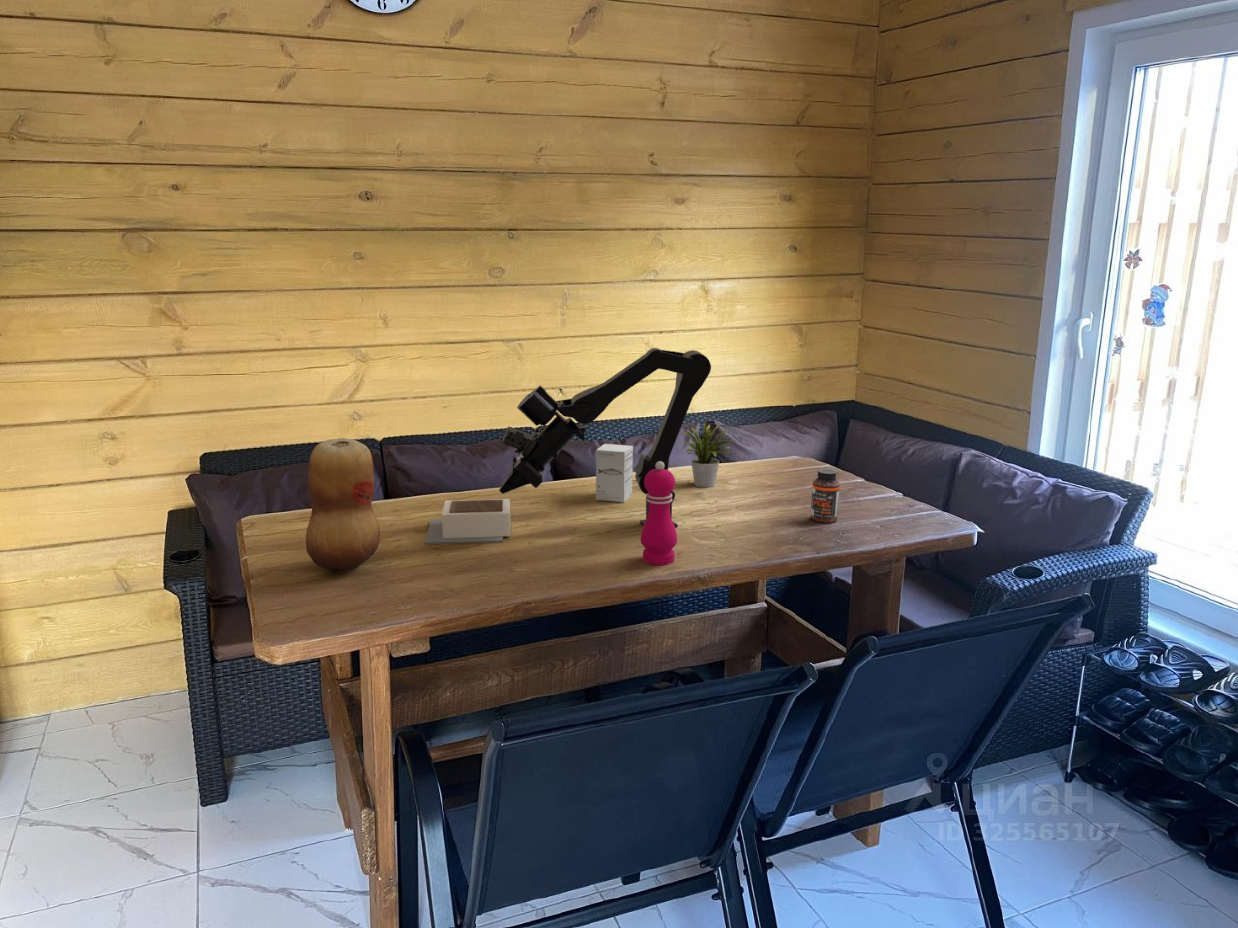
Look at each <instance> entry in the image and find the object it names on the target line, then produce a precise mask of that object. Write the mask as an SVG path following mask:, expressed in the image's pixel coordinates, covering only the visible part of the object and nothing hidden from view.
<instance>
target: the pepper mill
mask: <svg viewBox="0 0 1238 928" xmlns="http://www.w3.org/2000/svg"><path fill="white" fill-rule="evenodd" d="M655 467H656V469H654V470H651V471H650V472H648V473H647V475H646V476H645V480H644V486H645V488H646V490H647V491H648V493H647V494H646V495H647V501H648V502H649V512H648V517H647V520H646V519H645V520H646V522H645V524H644V525H643V527H642V529H641V532H640V544H641V545H642V546H643V548H644V549H643V551H642V561H643V562H644V563H645V564H649V565H654V566H664V565H665V564H666V565H669V563H670V564H672V563H674V561H675V556H676V555H675V550H674V547H676V545H677V543H678V533H677V529H676V527H674V524H673V522H674V521H673V520H672V519H673V518H672V519H671V515H670V502H672V493H671V491H672V490H673V491H674V489H675V486H676V478H675V476H674V474H673V473H672V471H670V470H669V469H668V470H666V469H664V463H663V462H661V461H659V462H657V463H656V465H655ZM672 521H673V522H672ZM666 565H665V566H666Z"/></svg>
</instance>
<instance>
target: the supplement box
mask: <svg viewBox="0 0 1238 928" xmlns="http://www.w3.org/2000/svg"><path fill="white" fill-rule="evenodd" d="M595 453H596V456H595V457H596V458H595V460H596V461H595V462H596V463H595V500H596V501H605V502H616V503H625V502H627V500H628V499H630V498H631V496H632V494H633V468H634V467H633V463H634V462H633V461H634V445H625V444H612V443H603V444H602V445H601V446H599V447H598V448H597V449H596V450H595Z"/></svg>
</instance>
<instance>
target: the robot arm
mask: <svg viewBox="0 0 1238 928" xmlns="http://www.w3.org/2000/svg"><path fill="white" fill-rule="evenodd" d="M657 370H664V371H668V372H672V373H676V376H675V377H676V378H675V387H674V391H673V394H672V396H671V399H670V401H669V404H668V406H667V409H666V411H665V414H664V417H663V419H662V422H661V424H660V426H659V429H658V432H657V435H656V437H655V439H654V442H653V445H652V447H651V449H650V450H649V451H648V452H647V454H646V455H645V454H644V453H642V452H641V453H640V454H639V457H638V462H637V464H636V466H635V467H633V470H634V472H635V476H634V477H635V481H636V483H637V485H638V487H639V489H640V491H641V492H642V493H643V494H645V495H646V496H645V519H641V520H639V523H640V524H641V525H643V526H644V524H645V522H646V520H647V517H648V512H649V502H648V501H647V493H648V491H647V490H646V488H645V486H644V480H645V476H646V475H647V473H648V472H650V471H651V470H654V469H656V467H655V465H656V463H657V462H659V461H661V462H663V463H664V469H666V470H668V471H669V465H670V464H669V463H670V456H671V454H672V451H673V449H674V446H675V444H676V441H677V439H678V437H679V434H680V431H681V428H682V426H683V423H684V421H685V418H686V416H687V413H688V410H689V409H690V405H691V403H692V401H693V398H694V396H695V395H696V394H697V393H698V391H699V390H700V389H701V388H702V387H703V386H704V384H705V382H706V381H707V379H708V377H709V376H710V373H711V370H712V365H711V362H710V360H709V358H708V357H707V356H706V355H705V354H702V353H701V352H699V351H698V350H695V349H694V350H692V349H691V350H688V351H685V352H681V351H674V350H673V351H672V350H665V349H660V348H658V347H652V348H650V349H648V350H647V351H646V352H645V354H642V355H641V356H640V357H639V358H638V359H636V360H634V361H633V362H632V363H629V364H628V365H627V366H626V367H625V368H623V369H621V370H620V371H618V372H617V373H615V374H614V375H613V376H611V377H610V378H608V379H607V380H605V381H604V382H601V383H600V384H597V385H596V386H595V385H594V386H592V387H589V388H587V389H584V390H582V391H580V392H578V393H577V394H575V395H573V396H572V397H571V398H567V399H561V400H555V399H554V398H553V397H552V396H551V395H550V394H549V393H548V392H547V391H546V389H545V388H544V387H543V386H542V385H538V386H537V387H536V388H535V389H534V390H532V391H531V392H530V393H527V394H526V395H525V397H523V399H522V400H521V401H520V402H519V403H518V405H517V407H516V408H517V409H518V410H519V412H521V413H522V414H523V415H524V416H525V417H526V418H527V419H528V420H530V422H532V423H533V424H534V425H535V426H536V427H537V426H539V425H540V426H542V427H544V428H543V430H542V431H541V432H536V433H535V434H533V435H530V434H527V433H526V432H524V431H522V430H519V429H516V428H514V427H512V426H507V428H506V430H505V433H504V435H503V437H502V439H501V440H502V441H501V443H502V445H504V446H507V447H512V448H513V452H514V453H515V454H517V453H518V454H519V455H518V456H517V458H516V457H515V456H512V468H511V470H510V471H509V474H508V475H507V477H506V478H505V479H504V481H503V483H502V485H501V486H500V488H499V490H498V491H499V492H500V493H501V494H502V495H503V494H506V493H508V492H511V491H514V490H516V489H520V488H521V487H524V486H527V485H531V486H532V487H533V488H535V489H537V488H538V487H539V486H540V485H541V484H542V483H543V472H544V471H545V470H546V466H547V465H548V464H549V463H550V462H551V461H552V460H554V459H557V458H558V457H559V453H560V452H561V451H562V450H563V449H564V448H565V447H566V446H567V445H568V444H569V443H570V442H571V441H572V440H573V439H574V438H575V437H576V436H577V438H579V439H580V441H582V442H584V441H586V437H585V432H586V427H585V425H587V424H591V423H593V422H594V421H595V420H596V419H597V418H598V417H599V416H601V414H602V413H603V412H604V411H605V410H606V409H607V407H609V405H611V403H612V402H613V401H614V400H615V399H616V398H618V397H619V396H621V395H623V394H624V393H625V392H627V391H628V390H629V389H631V388H632V387H634V386H635V385H637V384H638V383H639V382H641V381H643V380H644V379H646V378H647V377H648V376H650V375H652V374H653V373H654V372H656V371H657ZM553 418H554V419H553ZM572 418H573V419H574V420H573V419H572ZM551 420H552V421H551ZM550 421H551V422H550ZM576 422H577V423H576ZM578 424H583V425H581V426H580V425H578ZM546 425H547V426H546ZM545 426H546V427H545ZM671 493H672V502H670V515H671V519H673V502H674V500H675V498H676V493H675V492H674V489H673V490H672V491H671ZM672 522H673V524H674V527H675V528H678V527H679V526H678V523H676V522H674V521H673V520H672Z"/></svg>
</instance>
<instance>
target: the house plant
mask: <svg viewBox="0 0 1238 928" xmlns="http://www.w3.org/2000/svg"><path fill="white" fill-rule="evenodd" d="M720 425H721V423H719V424H718V425H716V426H715V428H713V430H711V424H708V425H707V422H706V421H704V423H703V433H702V434H703V435H702V439H701V434H699V431H698V430H697V429H696V428H693V427H692V428H691V430H692V431H693V434H692V432H691V431H690V430H688V431H685V434H686V435H687V436H688V437H689V439H690V440H691V441H692V442H693V443H692V442H686V443H685V445H687V446H688V447H691V448H693V449H691V448H688V449H687V450H686V451H685V453H686V454H687V455H690V454H692V452H693V454H694V455H695V456H696V458H693V459H691V467H692V468H691V470H692V475H693V483H694V486H695V487H699V488H712V487H715V485H716V482H717V477H718V476H717V475H718V471H719V466H720V460H719V459H717V458H716V457H717V455H718V453H720V452H721V453H722V452H727V453H730V451H731V449H730V448H731V446H727V447H726V446H721V445H723V444H728V443H731V442H734V440H732V439H731V440H730V439H729V440H727V439H726V440H721V439H723V438H727V436H726V435H727V433H725V432H726V431H728V430H729V428H726V429H723V430H722V431H721V432H719V433H718V434H717V435H716V437H715V438H714V439H713V440H712V441H711V439H712V437H713V436H714V433H715V432H716V430H717V429H718V428H719V427H720ZM733 434H734V433H731V435H733ZM719 440H721V441H719ZM719 446H721V447H719ZM729 450H730V451H729Z"/></svg>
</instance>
